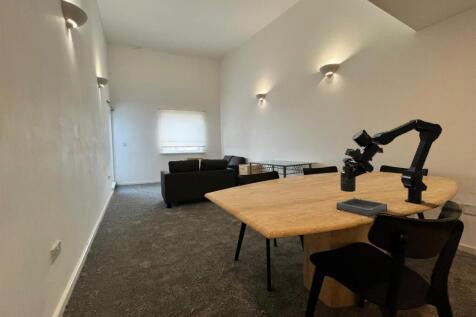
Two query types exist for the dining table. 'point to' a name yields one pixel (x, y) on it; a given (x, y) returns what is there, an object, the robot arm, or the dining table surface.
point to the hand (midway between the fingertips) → (345, 177)
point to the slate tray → (361, 207)
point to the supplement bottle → (347, 179)
